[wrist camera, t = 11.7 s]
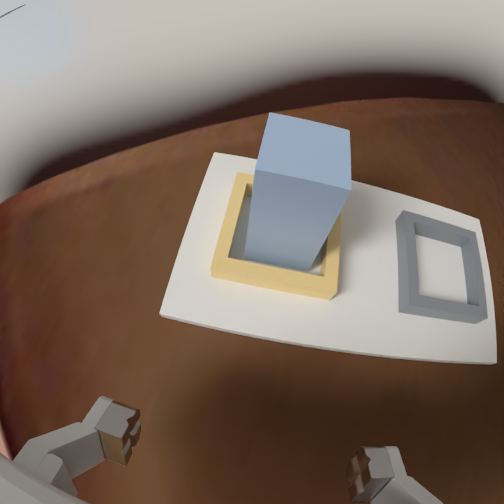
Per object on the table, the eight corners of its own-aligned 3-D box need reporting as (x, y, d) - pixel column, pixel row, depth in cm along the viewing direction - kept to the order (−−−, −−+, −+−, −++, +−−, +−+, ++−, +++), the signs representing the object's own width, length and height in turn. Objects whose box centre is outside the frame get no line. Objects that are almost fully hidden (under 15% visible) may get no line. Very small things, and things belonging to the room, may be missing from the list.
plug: (314, 212, 22) (348, 123, 14) (307, 272, 19) (351, 190, 12) (257, 200, 22) (271, 105, 15) (243, 259, 19) (254, 169, 12)
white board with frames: (475, 222, 24) (487, 211, 22) (491, 364, 17) (509, 358, 16) (214, 157, 24) (214, 139, 22) (161, 316, 18) (154, 306, 16)
